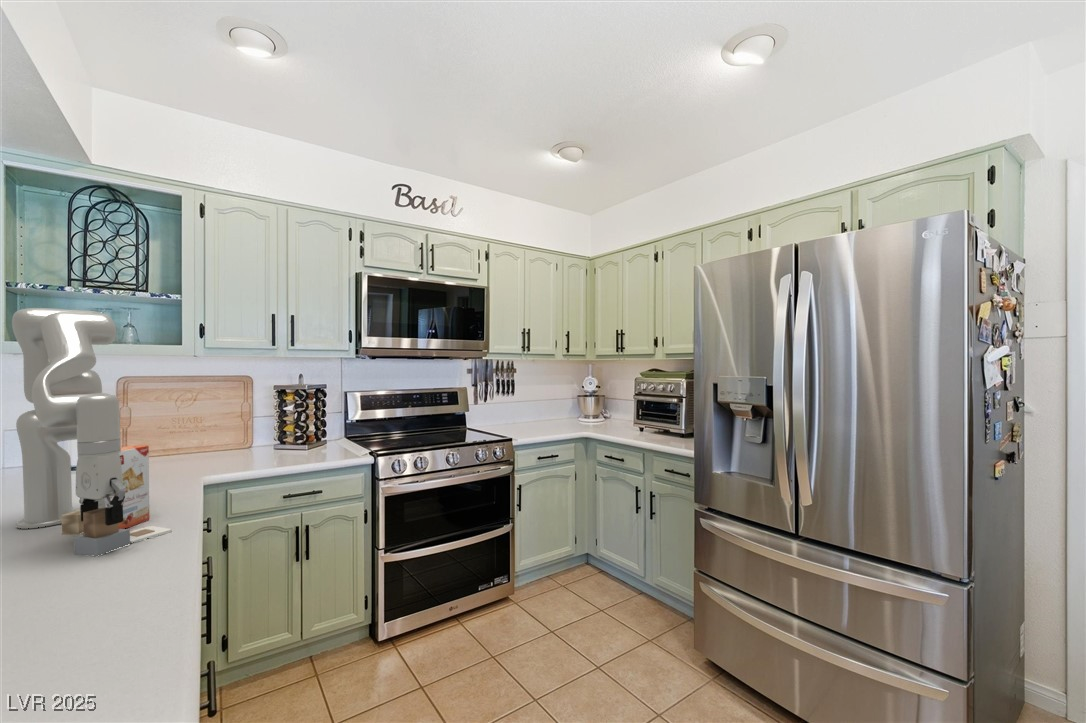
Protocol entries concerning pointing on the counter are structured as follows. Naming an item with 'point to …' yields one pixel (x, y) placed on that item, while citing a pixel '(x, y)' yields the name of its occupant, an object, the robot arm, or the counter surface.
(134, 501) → the cracker box
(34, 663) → the counter surface
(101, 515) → the walnut block
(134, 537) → the tile
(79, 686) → the counter surface
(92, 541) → the base block
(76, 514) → the maple block
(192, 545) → the counter surface
